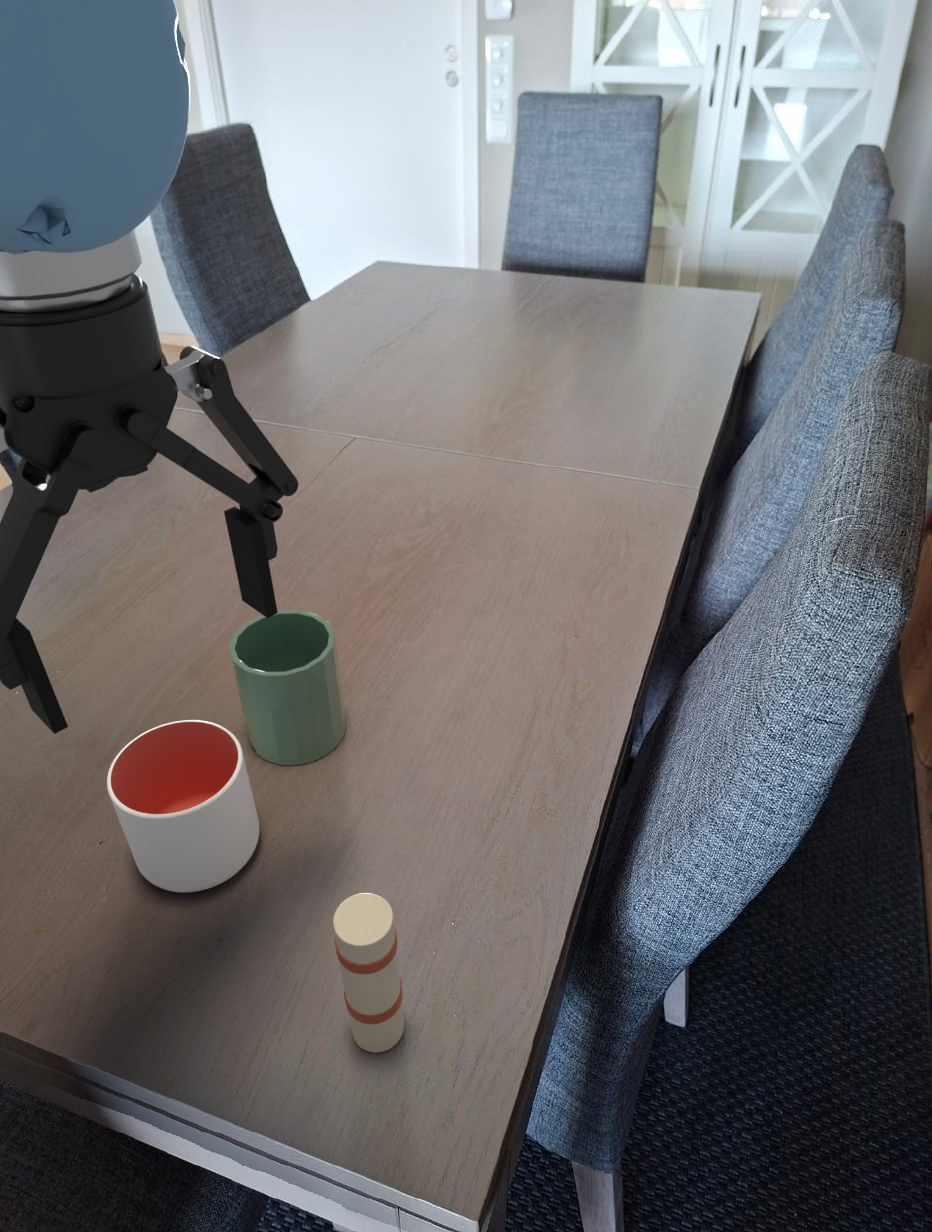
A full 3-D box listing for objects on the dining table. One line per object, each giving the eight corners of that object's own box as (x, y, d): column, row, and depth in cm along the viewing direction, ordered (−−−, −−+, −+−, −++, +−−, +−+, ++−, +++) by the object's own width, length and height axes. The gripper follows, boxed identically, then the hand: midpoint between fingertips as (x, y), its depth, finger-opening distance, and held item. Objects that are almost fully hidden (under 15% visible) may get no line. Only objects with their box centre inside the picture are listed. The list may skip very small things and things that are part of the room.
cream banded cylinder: (376, 1066, 58) (360, 959, 50) (339, 1028, 60) (318, 919, 52) (417, 1025, 60) (407, 916, 52) (380, 990, 62) (366, 880, 55)
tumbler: (289, 781, 78) (271, 690, 71) (231, 732, 83) (209, 642, 76) (364, 728, 83) (354, 639, 77) (306, 685, 88) (291, 598, 81)
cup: (112, 880, 70) (77, 797, 64) (182, 789, 77) (157, 707, 71) (221, 915, 67) (195, 832, 61) (283, 817, 75) (266, 735, 69)
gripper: (245, 215, 47) (295, 547, 60) (-313, 338, 33) (-88, 739, 46) (335, 240, 43) (368, 591, 56) (-260, 393, 28) (-30, 817, 41)
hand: (162, 658), depth 51 cm, fingers open, 13 cm apart
